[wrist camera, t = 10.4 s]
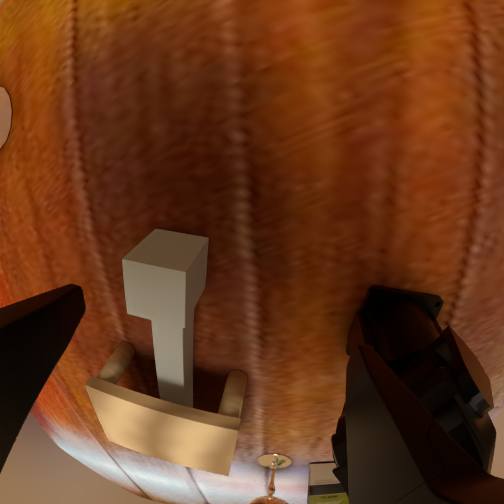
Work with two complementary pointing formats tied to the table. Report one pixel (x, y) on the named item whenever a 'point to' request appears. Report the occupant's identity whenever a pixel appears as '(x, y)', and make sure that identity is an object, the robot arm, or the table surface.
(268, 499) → the wineglass
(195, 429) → the hinoki shelf
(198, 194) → the table surface
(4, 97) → the white cup
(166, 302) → the gray hammer
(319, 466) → the tea box
